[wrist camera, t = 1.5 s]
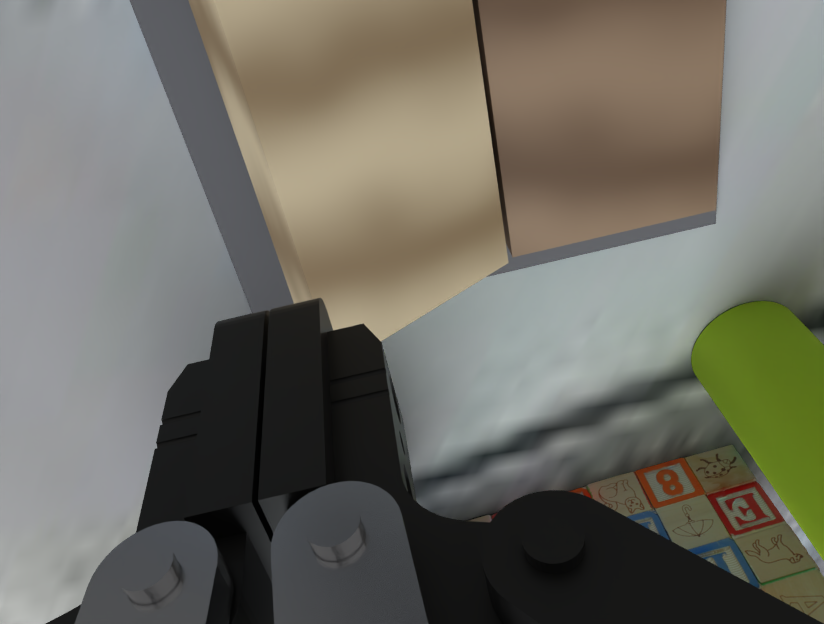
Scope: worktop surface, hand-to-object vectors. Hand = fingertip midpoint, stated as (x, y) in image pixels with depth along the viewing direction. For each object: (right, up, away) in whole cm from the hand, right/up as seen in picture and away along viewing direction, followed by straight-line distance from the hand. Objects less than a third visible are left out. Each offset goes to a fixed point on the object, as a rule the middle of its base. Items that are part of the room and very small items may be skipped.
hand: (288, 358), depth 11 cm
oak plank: (-1, +10, +14) cm, 18 cm away
